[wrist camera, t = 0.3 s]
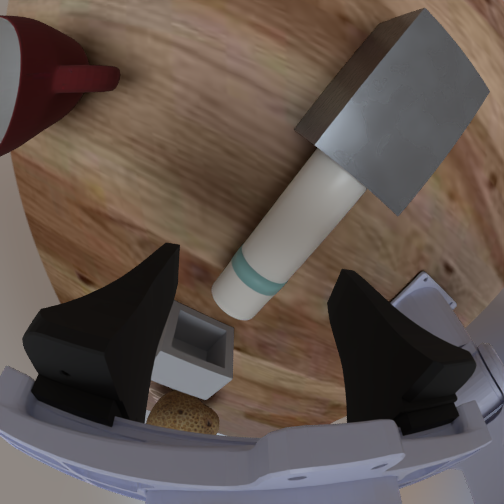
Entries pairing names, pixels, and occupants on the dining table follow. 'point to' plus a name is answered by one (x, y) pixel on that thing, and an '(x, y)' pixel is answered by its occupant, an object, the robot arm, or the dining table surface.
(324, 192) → the tube
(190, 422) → the natural sponge
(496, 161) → the dining table surface
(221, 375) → the socket
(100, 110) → the dining table surface
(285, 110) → the dining table surface
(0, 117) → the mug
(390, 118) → the grey stone block
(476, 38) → the dining table surface
